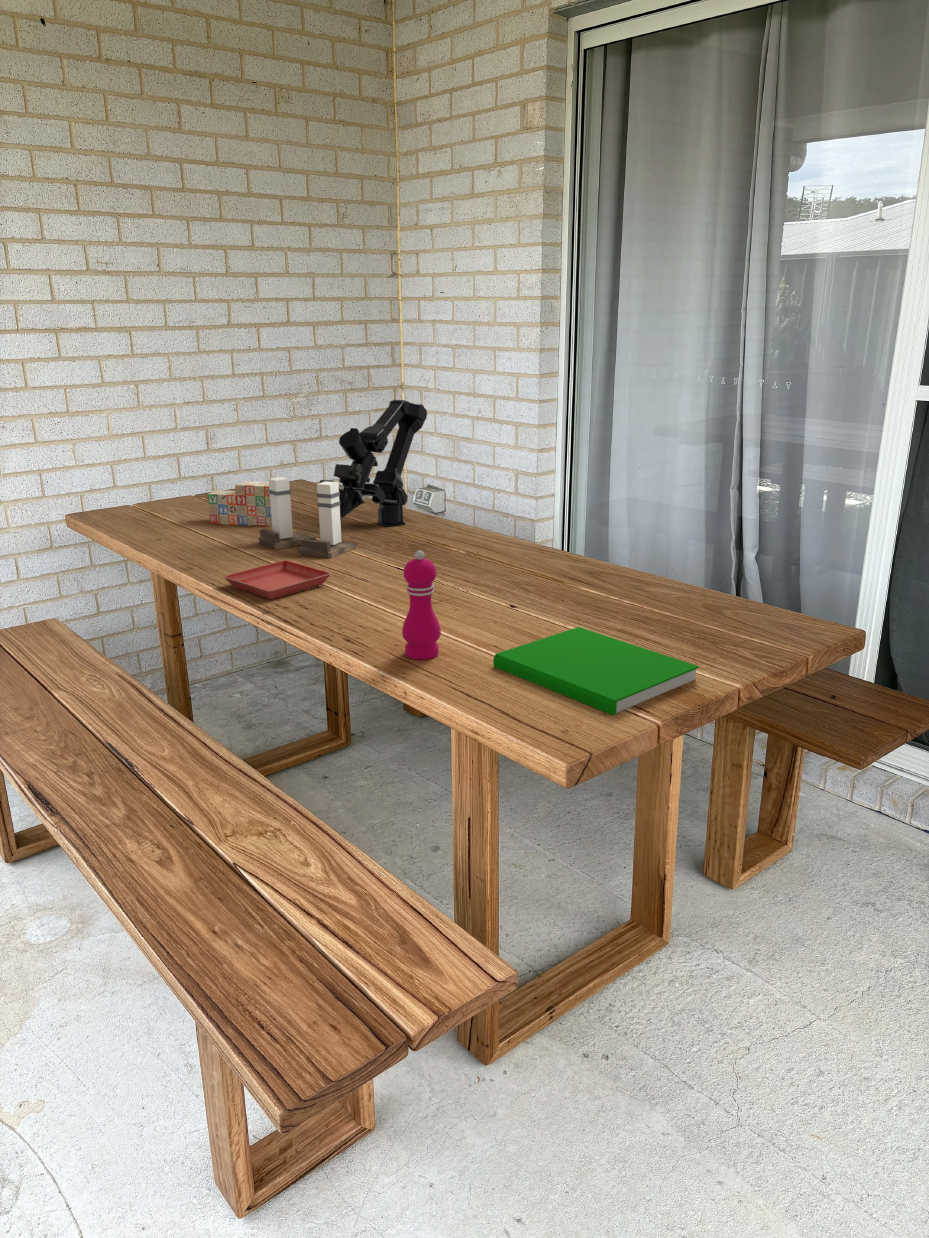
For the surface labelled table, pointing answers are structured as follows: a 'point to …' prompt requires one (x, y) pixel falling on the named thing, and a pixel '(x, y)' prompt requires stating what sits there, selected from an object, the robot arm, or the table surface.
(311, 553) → the base
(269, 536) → the base
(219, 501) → the stack of blocks
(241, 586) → the plant saucer
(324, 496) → the post
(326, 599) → the table surface
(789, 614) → the table surface
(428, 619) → the pepper mill
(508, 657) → the book
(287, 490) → the post
